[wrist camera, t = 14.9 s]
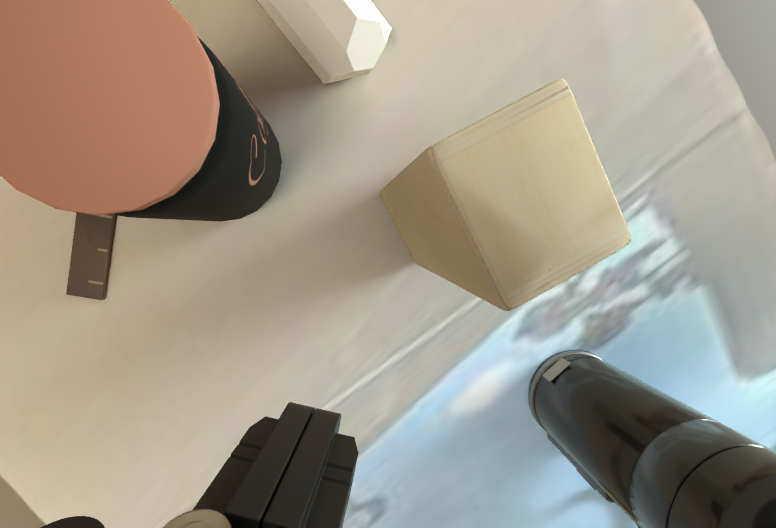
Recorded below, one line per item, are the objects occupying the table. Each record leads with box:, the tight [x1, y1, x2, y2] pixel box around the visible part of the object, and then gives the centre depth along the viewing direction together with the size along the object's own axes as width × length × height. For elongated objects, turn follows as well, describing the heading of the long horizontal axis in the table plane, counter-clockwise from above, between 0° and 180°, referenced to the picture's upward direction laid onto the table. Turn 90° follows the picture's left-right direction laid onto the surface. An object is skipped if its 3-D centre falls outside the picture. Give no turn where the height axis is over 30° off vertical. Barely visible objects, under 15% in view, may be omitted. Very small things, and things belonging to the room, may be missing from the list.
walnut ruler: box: [67, 212, 116, 300], centre depth 33 cm, size 15×3×1 cm, turn 169°
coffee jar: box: [0, 0, 282, 221], centre depth 25 cm, size 11×11×18 cm
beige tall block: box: [380, 79, 631, 311], centre depth 26 cm, size 8×7×21 cm
